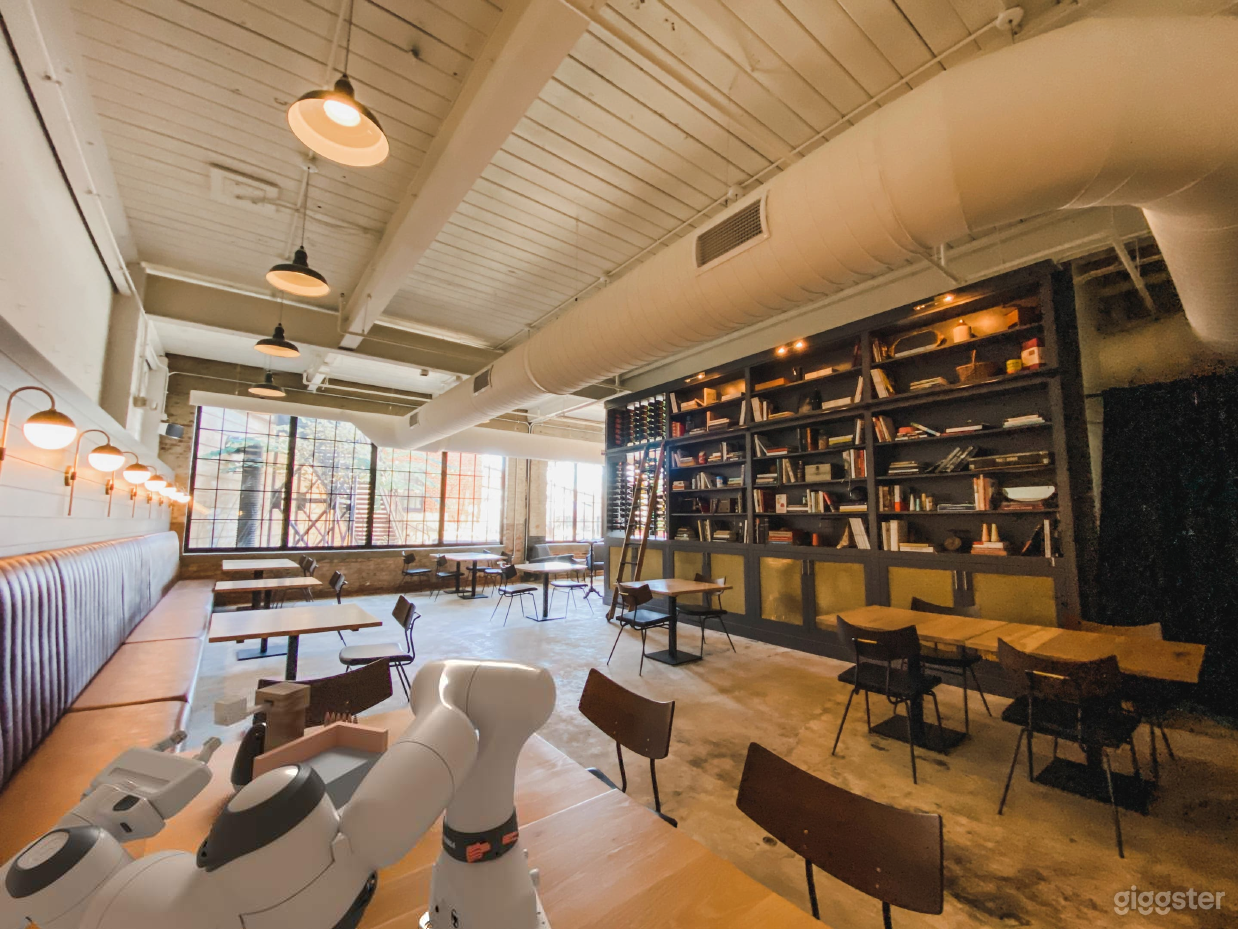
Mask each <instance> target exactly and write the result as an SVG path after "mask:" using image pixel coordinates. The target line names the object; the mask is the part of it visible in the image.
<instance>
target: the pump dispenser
mask: <svg viewBox="0 0 1238 929" xmlns="http://www.w3.org/2000/svg"><path fill="white" fill-rule="evenodd" d="M265 731H266V721H262V722H258V723H255V724H254V725H252V726H251V727H250V728H248V731H246V733H245V735H244V736H243V738H242V740H241V742H240V743H239V746H238V748H237V752H236V755H235V758H234V760H233V763H232V764H233V765H232V769H231V773H230V780H229V782H230V783H231V785H232V788H233V790H234V791H235V793H237V792H238V791H239V790H240V789H241V788H243V787H244V786H245V785H247V784H248V783H250V782H251V781H252V779H253V765H254V758H255V757H257V756H260V755H262V754H264V745H265Z"/></svg>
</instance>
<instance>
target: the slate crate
mask: <svg viewBox="0 0 1238 929" xmlns="http://www.w3.org/2000/svg"><path fill="white" fill-rule="evenodd" d="M387 750H388V749H387ZM387 750H386V751H387ZM386 751H385V752H386ZM385 752H383V753H378V752H373V751H368V750H363V749H357V748H352V747H347V746H342V745H335V746H333V747H331V748H329V749H327V750H325V751H323V752H321V753H319V754H317V755H315V756H312V757H310V758H308V759H306V760H304V761H302V762H300V763H306V764H309V765H310V766H311V767H313V768H314V769H315V771H316V772H317V773H318V774H319V775H320V777H321V778H322V780H323V781H324V783H325V784H326V793H327V795H328V796H329V798H330V800H331V802H332V804H333V805H334V807H335V809H336V811H337V810H338V809H340V808H341V807H343V806H344V805H346V804H347V803H348V802H349V801H350V799H351V797H352V796H353V794H354V793H355V791H356V790H357V788H358V787H359V785H360V784H361V782H362V781H363V779H364V778H365V777H366V775H367V774H368V773H369V771H370V770H371V769H372V768H373V766H374V765H375V764H376V763H377V761H378V760H379V759H380V758H381V757H382V756H383V755H384V753H385Z"/></svg>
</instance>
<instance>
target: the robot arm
mask: <svg viewBox="0 0 1238 929" xmlns="http://www.w3.org/2000/svg"><path fill="white" fill-rule="evenodd" d="M556 701H557V687H556V683H555V680H554V677H553V676H552V674H551V672H550V671H549V670H548V669H547V668H546V667H542V666H540V665H536V664H534V663H529V662H525V661H523V660H521V661H520V660H506V659H505V660H503V659H500V660H499V659H480V658H478V659H477V658H466V657H465V658H462V657H461V658H460V657H451V658H446V659H444V658H443V659H439V660H433V661H429V662H426V663H425V664H424V665H422V667H420V669H419V670H418V671H417V673H416V675H415V676H414V678H413V680H412V683H411V685H410V689H409V705H410V708H411V711H412V713H413V715H414V716H415V718H414V719H413V720H412V722H410V724H409V725H408V726H407V727H406V729H405V730H404V731H403V732H402V733H401V734H400V736H399V737H397V739H396V740H395V741H394V742H393V743H392V745H391V746H390V747H389V748H387V751H386V752H385V753H384V755H383V756H382V757H381V758H380V759H379V760H378V761H377V763H376V764H375V765H374V766H373V768H372V769H371V770H370V771H369V773H368V774H367V775H366V777H365V778H364V779H363V781H362V782H361V784H360V785H359V787H358V788H357V790H356V791H355V793H354V794H353V796H352V797H351V799H350V801H349V802H348V803H347V804H346V805H344V806H343V807H341V808H340V809H338V810H337V811H336V809H335V807H334V805H333V804H332V802H331V800H330V798H329V796H328V795H327V793H326V784H325V783H324V781H323V780H322V778H321V777H320V775H319V774H318V773H317V772H316V771H315V769H314V768H313V767H311V766H310V765H309V764H306V763H290V764H286V765H283V766H280V767H277V768H275V769H272V770H270V771H268V772H266V773H264V774H263V775H261V776H259V777H257V778H256V779H254V780H253V781H251V782H250V783H248V784H247V785H245V786H244V787H243V788H241V789H240V790H239V791H238V792H235V793H234V795H232V796H231V798H229V799H228V801H227V802H226V804H224V806H223V807H222V809H221V811H220V812H219V814H218V815H217V816H216V819H215V820H214V822H213V824H212V825H211V827H210V831H209V834H208V835H207V836H206V837H205V839H204V840H203V841H202V842H201V844H200V846H199V848H198V850H197V852H196V853H194V852H190V851H186V850H181V849H180V850H179V849H167V850H166V849H165V850H159V851H155V852H151V853H149V854H146V855H144V856H141V857H140V858H137V859H136V858H135V857H134V856H133V855H132V854H131V853H130V852H129V851H128V850H127V849H126V848H125V847H124V845H122V844H125V843H129V842H133V841H138V840H143V839H144V840H145V839H151V838H154V837H156V836H157V835H158V834H160V832H162V831H163V830H164V829H165V827H166V822H165V820H166V821H167V820H169V819H171V818H174V816H176V815H177V814H179V813H180V812H181V811H182V810H184V809H185V807H187V806H188V805H189V804H190V803H191V802H192V801H193V800H194V799H195V798H196V797H197V796H198V795H199V794H200V793H201V792H202V791H203V790H205V788H206V787H207V786H208V785H209V784H210V782H211V780H212V777H213V772H212V770H211V769H210V767H209V766H208V764H209V762H210V760H211V758H212V756H213V754H214V753H215V751H217V750H218V749H219V748H220V747H221V746H222V744H223V742H222V740H221V739H220V737H217V736H210V737H209V738H208V739H207V740H206V741H204V743H202V745H203V748H202V749H201V751H200V752H199V753H196V754H194V755H193V756H192V757H191V758H189V757H185V756H181V755H177V754H171V753H167V752H166V751H167V750H168V749H171V748H172V747H174V746H175V745H176V746H179V745H180V744H181V743H182V742H183V741H184V740H186V738H187V737H188V734H187V733H186V731H185V730H181V729H176V730H175V731H174V732H172V733H171V734H170V735H168V736H166V737H164V738H163V739H161V740H158V741H157V742H154V743H153V744H151V745H150V746H149V747H148V748H146V747H142V746H137V745H133V746H131V747H129V748H127V749H126V750H124V751H123V752H122V753H120V754H119V755H117V756H116V757H115V758H114V759H113V760H112V761H111V762H110V763H108V764H107V765H106V766H105V767H103V769H102V770H101V771H99V772H98V774H96V775H95V776H94V778H93V779H92V780H91V782H90V784H89V786H87V787H86V789H85V790H83V792H82V794H81V796H80V799H79V802H78V803H77V804H76V805H75V806H73V808H71V809H70V810H68V811H67V812H66V813H65V814H64V815H63V816H62V817H61V818H60V819H59V820H58V822H57V823H56V824H54V826H53V827H52V828H51V829H50V830H48V831H47V832H46V833H44V834H43V835H42V836H40V837H38V838H36V839H35V840H33V841H31V842H30V843H29V844H27V845H25V846H24V847H23V848H22V849H21V850H20V851H18V852H17V853H16V854H15V855H14V856H12V857H11V858H10V859H9V860H8V861H6V863H4V864H3V865H2V866H1V867H0V929H27V928H29V926H30V925H32V924H33V923H34V924H35V925H36V926H37V927H38V928H39V929H357V928H358V926H359V924H360V922H361V920H362V919H363V917H364V914H365V912H366V910H367V909H366V908H367V907H368V906H369V904H370V903H371V901H372V899H373V898H374V895H375V892H376V891H377V886H378V885H377V884H378V878H379V877H378V876H379V875H378V871H380V870H385V869H388V868H390V867H392V866H394V865H396V864H397V863H399V862H400V861H401V860H403V858H404V857H405V856H406V855H407V854H408V853H409V852H411V850H413V849H414V847H415V846H416V845H417V844H418V843H419V842H420V841H421V840H422V839H423V838H424V836H425V835H426V834H427V833H428V832H429V831H430V829H432V827H434V824H436V822H437V821H438V819H439V818H440V817H441V816H442V814H443V812H444V811H445V815H444V816H443V818H442V826H441V845H442V848H441V851H440V853H439V855H438V857H437V859H436V860H435V861H434V863H433V865H432V868H431V876H430V888H429V897H428V898H429V899H428V900H429V901H428V909H427V911H426V912H425V913H424V914H423V915H422V916H421V917H420V919H419V921H418V925H419V927H420V928H422V929H426V928H427V926H429V925H432V927H431V928H427V929H552V927H551V924H550V923H549V920H548V917H547V915H546V912H545V910H544V907H543V904H542V902H541V899H540V897H539V894H538V891H537V889H536V887H538V886H540V883H541V878H540V871H539V869H538V868H532V869H530V868H529V865H528V861H527V859H529V850H528V849H527V848H525V849H523V846H522V843H521V839H520V834H519V832H520V831H519V827H518V826H519V822H518V821H519V820H518V815H517V811H516V810H517V808H516V805H515V799H514V798H515V782H516V770H517V763H518V761H519V760H518V759H519V757H520V753H521V751H522V749H523V747H524V746H525V744H526V742H527V741H528V739H530V737H531V736H532V735H533V734H534V733H535V732H537V731H538V730H540V729H541V728H542V727H543V726H544V725H545V724H547V722H548V721H549V719H550V718H551V716H552V714H553V712H554V709H555V706H556ZM476 730H477V731H476ZM477 732H478V734H477ZM372 881H373V882H372Z"/></svg>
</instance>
